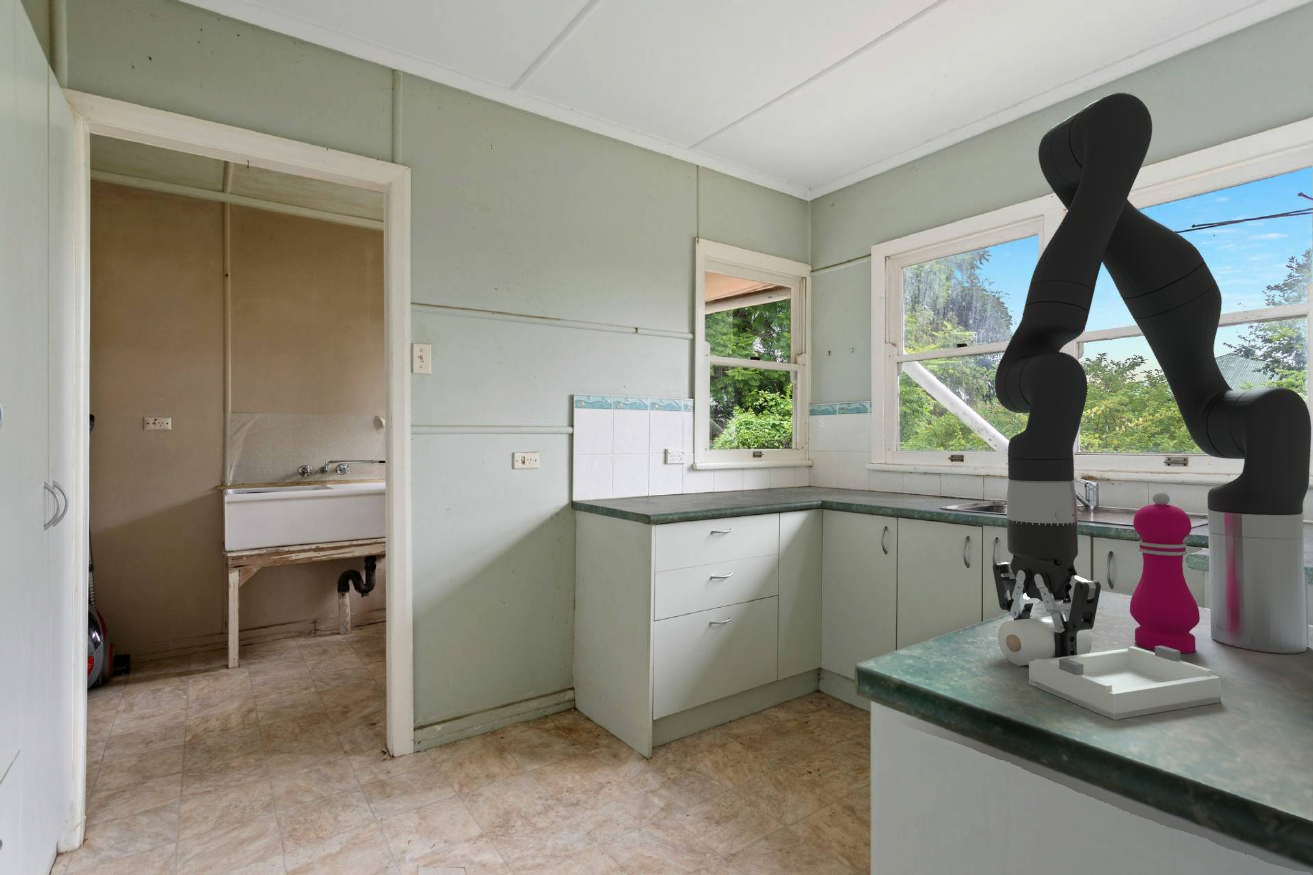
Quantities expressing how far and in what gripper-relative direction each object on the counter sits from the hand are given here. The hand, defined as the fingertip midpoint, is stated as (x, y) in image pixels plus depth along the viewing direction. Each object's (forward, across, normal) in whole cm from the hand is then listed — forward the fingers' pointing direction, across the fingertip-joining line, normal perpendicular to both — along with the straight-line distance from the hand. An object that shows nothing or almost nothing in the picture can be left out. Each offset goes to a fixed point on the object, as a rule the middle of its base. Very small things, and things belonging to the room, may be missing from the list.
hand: (1044, 654), depth 81 cm
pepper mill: (+1, 0, -19) cm, 19 cm away
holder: (+1, -11, +1) cm, 11 cm away
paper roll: (+1, 0, 0) cm, 1 cm away
